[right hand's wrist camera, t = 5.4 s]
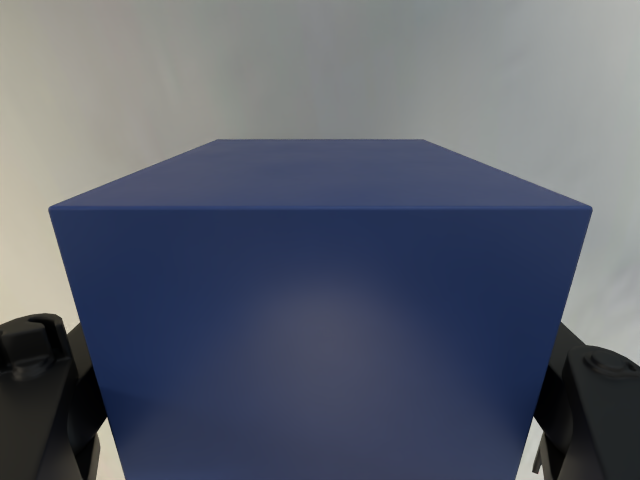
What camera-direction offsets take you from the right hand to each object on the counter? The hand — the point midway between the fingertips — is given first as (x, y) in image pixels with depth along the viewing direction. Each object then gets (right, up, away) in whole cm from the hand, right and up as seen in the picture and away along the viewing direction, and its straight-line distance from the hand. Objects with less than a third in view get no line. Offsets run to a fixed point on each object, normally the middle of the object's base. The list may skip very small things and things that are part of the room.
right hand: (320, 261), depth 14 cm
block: (0, +1, +2) cm, 2 cm away
